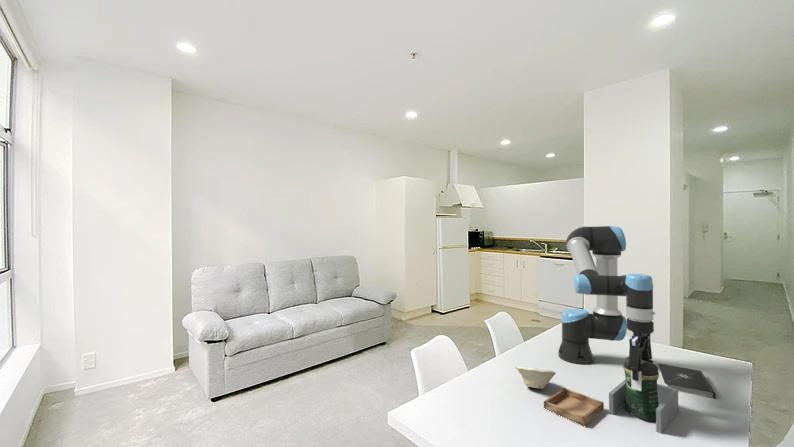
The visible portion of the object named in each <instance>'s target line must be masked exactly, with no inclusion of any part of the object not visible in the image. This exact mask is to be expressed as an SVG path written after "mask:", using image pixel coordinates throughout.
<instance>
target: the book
mask: <svg viewBox="0 0 794 447" xmlns="http://www.w3.org/2000/svg"><path fill="white" fill-rule="evenodd" d="M657 367H659V368H658V369H659V370H660V373H661V376H662V379H663V382H664V384H665V386H668V387H671V388H674V389H678V392H683V393H688V394H692V395H693V394H694V395H698V396H702V397H709V398H713V399H714V400H715V399H716V398H717V396H716V392H715V391H714V389H713V387H712V386H711V385H710V383H709V381H708V379H707V378H706V376H705V375H704V374H703V372H702V371H701V370H699V369H694V368H693V369H692V368H688V367H687V368H686V367H681V366H680V367H679V366H676V365H675V366H674V365H668V364H662V363H657Z"/></svg>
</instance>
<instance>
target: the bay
mask: <svg viewBox="0 0 794 447" xmlns="http://www.w3.org/2000/svg"><path fill="white" fill-rule="evenodd" d="M625 385H626V378H625V379H623V381H621V382H620V383H619V384H617V386H616V387H614V388H613V389H612V390H610V391H609V392H608V410H609V411H608V412H609V414H610V415H612V416H613V415H615V414H616V413H617V412H618V411H619V410H620V409H621V408H622V407H623V406H624V402H625ZM657 393H658V402H659V406H658V407H657V408H656V420H655V422H656V423H655V428H656V430H655V431H656V432H657V433H660V434H662V432H663V431H664V430H665V429H666V427H667V426H668V425H669V424H670V422H671V421H672V419H673V418H674V416H675V415H676V413H678V411H679V391H678V389H674V388H671V387H668V386H667V385H663V384H660V383H657Z"/></svg>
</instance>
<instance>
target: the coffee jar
mask: <svg viewBox="0 0 794 447" xmlns="http://www.w3.org/2000/svg"><path fill="white" fill-rule="evenodd" d="M628 366H629V356H627V357H625V358H624V361H623V371H624V375H625V379H626V385H625V402H624V405H623V406H624V409H625V410H626V411H627V412H628V413H629V414H631V415H633V416H635V417H637V418H639V419H641V420H644V421H650V422H656V408H657V407H658V406H659V402H658V393H657V384H658V380H659V377H660V375H659V374H660V373H659V368H658V367H659V366H658V365H657V364H654V363H649V362H646V361H644V360H641V367H640V371H641V378H642V391H639V390H635V389H632V388H631V369H628ZM634 367H635V366H634Z"/></svg>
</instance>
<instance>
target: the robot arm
mask: <svg viewBox="0 0 794 447" xmlns="http://www.w3.org/2000/svg"><path fill="white" fill-rule="evenodd" d="M565 246H566V249H567V251H568V252H569V254H570V255H571V258H572V262H573V265H574V268H575V271H576V274H575V275H574V277H573V287H574V288H573V289H574V291H575V293H576V294H580V295H585V296H586V295H587V296H589V295H592V296H596V307H595V308H593V309H592V313H589V311H588V310H587V309H582V308H572V309H566V310H564V311H563V312H562V314H561V342H560V345H559V348H558V358H559V359H561V360H563V361H566V362H569V363H571V364H572V363H573V364H579V365H589V364H593V362H594V354H593V352H592V349H591V346H590V339H593V340H603V341H611V342H612V341H616V342H617V341H619V342H620V341H623V340H624V339H625V337H626V335H627V330H628V331H630V332H632V333H633V334H632V335H631V338H629V340H628V342H629V349H628V350H629V352H628V357H629V366H628V369H631V388H632V389H635V390H639V391H642V378H641V371H640V367H641V360H644V361H646V362H649V363H652V364H654V360H653V354H652V343H651V334H653V333H654V332H655V331H654V330H655V329H654V328H655V326H654V325H655V324H654V321H653V320H654V315H656V312H655V311H654V283H653V278H652V276H651V275H649V274H644V273H627V274H621V275H618V271H619V270H618V258H620V257H621V256H622V252H625V251H626V249H627V248H626V247H627V241H626V237H625V233H624V231H623V230H622V228H621V227H619V226H613V225H612V226H610V225H606V226H605V225H603V226H601V225H600V226H581V227H578V228H576V229H574V230H573V231H571V232H570V233H569V235H568V236H567V238H566V241H565ZM591 253H592V254H591ZM593 257H594V258H595V261H594V258H593ZM619 297H625V298H626V299H625V300H626V302H625V303H626V305H625V306H626V310H625V312H626V313H625V316H626V317H627V318H626V317H625V316H624V315H623V312H622V311H621V310H620V309H619V301H618V300H619ZM634 366H635V367H634Z"/></svg>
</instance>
